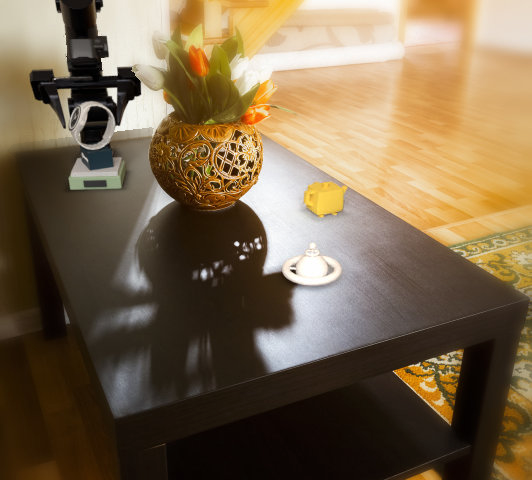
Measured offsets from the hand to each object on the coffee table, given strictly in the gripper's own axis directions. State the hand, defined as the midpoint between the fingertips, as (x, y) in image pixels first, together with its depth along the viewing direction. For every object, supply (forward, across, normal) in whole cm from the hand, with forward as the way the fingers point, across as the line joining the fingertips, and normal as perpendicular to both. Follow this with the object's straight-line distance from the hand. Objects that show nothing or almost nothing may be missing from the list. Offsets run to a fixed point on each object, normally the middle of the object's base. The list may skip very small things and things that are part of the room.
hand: (91, 126), depth 110 cm
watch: (+4, 0, +6) cm, 8 cm away
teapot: (+22, +36, -7) cm, 43 cm away
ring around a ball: (+38, +27, -23) cm, 52 cm away
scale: (+6, 0, +8) cm, 10 cm away
